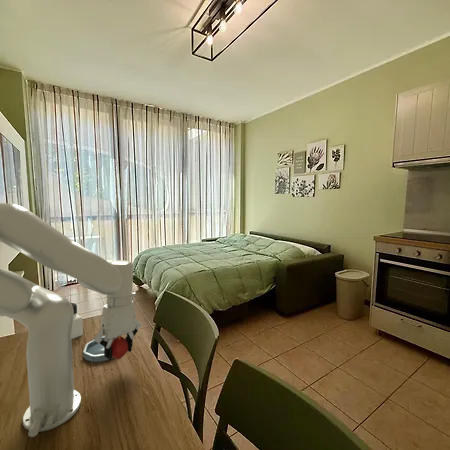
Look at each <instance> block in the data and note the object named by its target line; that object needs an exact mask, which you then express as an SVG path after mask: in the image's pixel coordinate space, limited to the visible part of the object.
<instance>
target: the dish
mask: <svg viewBox="0 0 450 450" xmlns="http://www.w3.org/2000/svg"><path fill="white" fill-rule="evenodd" d="M115 338H117V337H115ZM115 338H113V340H114V339H115ZM101 339H103V340H104V339H105V335H103V336H102V337H101ZM113 340H112V341H113ZM82 355H83V358H84V360H85V361H87V362H90V363H102V362H107V361H109V360H108V359H107V358H106V357H105V356H104V346H102V345H101V344H99V343H97V342H96V341H94V339H93V340H90V341H89V342H87V343H86V344H85V345H84V349H83V350H82ZM112 359H115V358H114V357H112ZM112 359H111V360H112Z"/></svg>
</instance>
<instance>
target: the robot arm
mask: <svg viewBox="0 0 450 450" xmlns="http://www.w3.org/2000/svg"><path fill="white" fill-rule="evenodd" d="M0 242H1V243H3V244H5V245H7V246H8V247H10V248H12V249H14V250H16V251H17V252H19V253H20V254H22V255H25V256H26V257H28V258H30V259H31V260H33V261H35V262H37V263H38V264H40V265H42V266H45V268H48V269H50V270H53V271H55V272H57V273H61V274H64V275H67V276H69V277H71V278H73V279H76V281H77V283H79V285H80V286H81V287H83V288H85V289H87V290H91V291H93V292H97V293H98V294H101V295H105V296H106V304H104V305H103V307H102V311H101V319H100V327H99V331H98V332H97V333H96V335H94V337H93V340H94V341H96V342H97V343H99V344H101V345H102V346H104V356H105V357H106V358H107V359H108V360H107V361H111V360H112V347H111V343H112V340H113V338H115V337H118V336H121V337H122V336H123V335H126V336H125V337H124V339H126V340H127V342H128V351H127V352H128V353H131V352H132V351H133V350H132V349H133V341H134V339H135V336H136V334H137V333H138V331H139V329H140V328H141V327H142V325H143V324H142V323H141V322H140V321H138V320H137V316H136V315H137V314H136V306H135V303H134V301H133V298H135V297H136V296H137V294H136V292H133V283H134V282H133V281H134V279H133V278H134V277H133V276H134V275H133V274H134V264H133V263H132V261H130V260H124V259H123V260H121V259H120V260H119V259H118V260H112V261H110V262H109V261H107V260H105V259H104V258H103V257H102V256H100V255H98V254H96V253H94V252H93V251H91V250H90V249H87V248H86V247H84V246H83V245H81V244H79V243H78V242H76V241H74V240H72V239H71V238H70V237H68V236H66V235H65V234H63V233H62V232H61V231H59V230H57V229H56V228H54V227H53V226H52V225H50V224H49V223H47V222H46V221H45V220H43V219H42V218H40V217H39V216H38V215H36V214H35V213H33V212H32V211H30V210H29V209H27V208H25V207H24V206H22V205H19V204H15V203H5V202H4V203H3V202H0ZM71 303H72V302H70V301H69V299H67V298H66V297H65V296H63V295H61V294H59V293H57V292H55V291H52V290H49V289H47V288H46V287H43V286H41V285H38V284H37V283H34V282H32V281H31V280H28V279H26V278H25V277H22V276H21V275H19V274H18V273H16V272H14V271H11V270H9V269H6V268H4V267H3V268H2V267H0V317H7V318H9V319H12V320H15V321H17V322H18V323H20V324H22V325H23V326H24V327H25V328H26V329H27V331H28V333H27V334H28V336H27V337H28V338H27V342H26V350H25V352H26V354H25V355H26V356H25V357H26V366H27V367H26V368H27V384H28V394H29V396H28V397H29V399H28V400H29V406H28V408H27V409H26V410H25V412H24V414H23V416H22V425H23V428H24V429H26V431H28V433H27V434H28V435H27V436H28V437H30V438H34V437H36V436H37V435H38V434H39V432H46V431H50V430H52V429H55V428H57V427H59V426H61V425H62V424H65V422H67V421H69V420H70V419H71V418H72V417H73V416H75V414H76V413H77V412H78V410H79V408H80V407H81V402H82V398H81V397H82V396H81V394H80V392H78V391H77V390H75V389H74V388H75V387H74V367H73V366H74V364H73V348H72V344H73V343H72V339H71V333H72V324H73V318H74V310H73V307H72V304H71ZM103 336H105V339H104V340H103V339H101V337H103Z"/></svg>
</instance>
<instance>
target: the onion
mask: <svg viewBox="0 0 450 450" xmlns="http://www.w3.org/2000/svg"><path fill="white" fill-rule="evenodd" d="M111 347H112V357H114V358H113V359H115V360H121V359H122V358H123V357H124V356H125V355H126V354H127V352H129V351H128V342H127V340H126V339H125V337H122V335H121V336H118V337H117V338H115V339H114V340H113V341H112V343H111Z"/></svg>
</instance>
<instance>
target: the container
mask: <svg viewBox="0 0 450 450" xmlns="http://www.w3.org/2000/svg"><path fill="white" fill-rule="evenodd" d="M70 303H71V304H72V307H73V310H74V318H73V324H72V333H71V340H74V339H76V338H78V337H79V338H80V336H83V334H84V330H83V329H84V328H83V326H84V325H83V317H82V316H81V315H79V314H78V305H77V304H76V303H73V302H70Z"/></svg>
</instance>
